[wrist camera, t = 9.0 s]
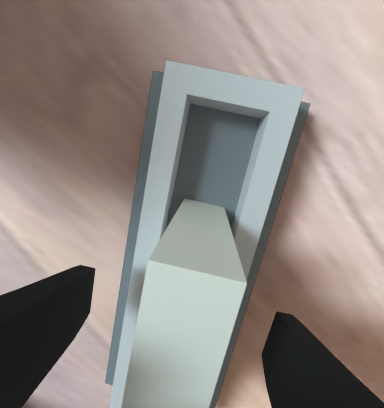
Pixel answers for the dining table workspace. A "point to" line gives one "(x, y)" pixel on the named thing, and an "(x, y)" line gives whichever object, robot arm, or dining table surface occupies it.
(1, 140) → the dining table surface
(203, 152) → the track base
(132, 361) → the door panel
